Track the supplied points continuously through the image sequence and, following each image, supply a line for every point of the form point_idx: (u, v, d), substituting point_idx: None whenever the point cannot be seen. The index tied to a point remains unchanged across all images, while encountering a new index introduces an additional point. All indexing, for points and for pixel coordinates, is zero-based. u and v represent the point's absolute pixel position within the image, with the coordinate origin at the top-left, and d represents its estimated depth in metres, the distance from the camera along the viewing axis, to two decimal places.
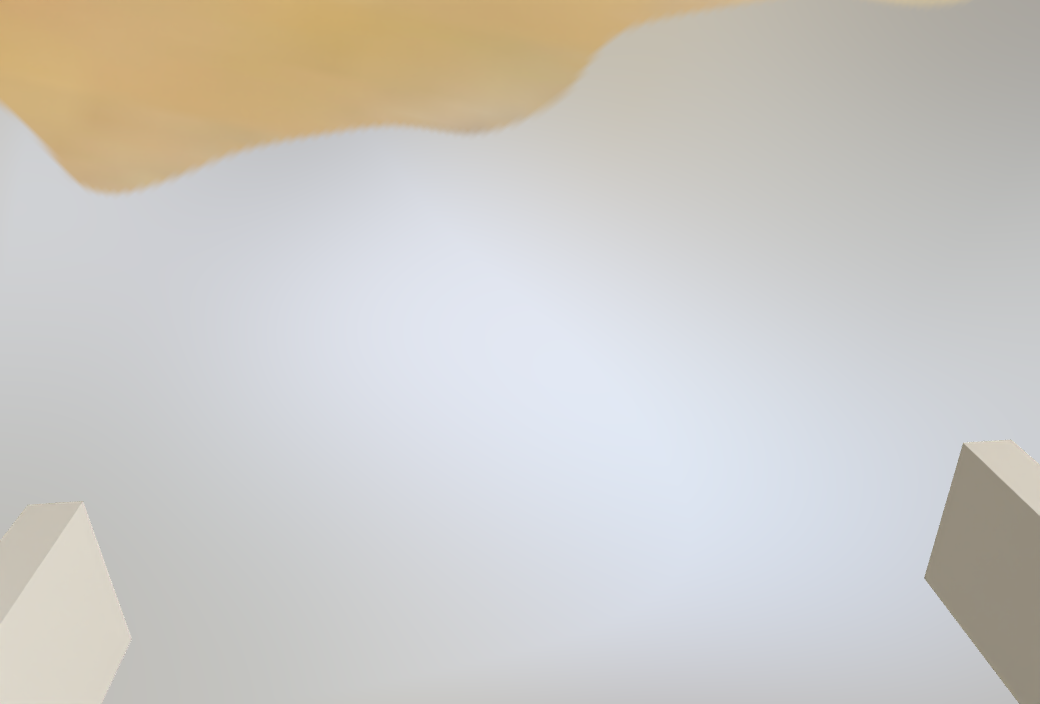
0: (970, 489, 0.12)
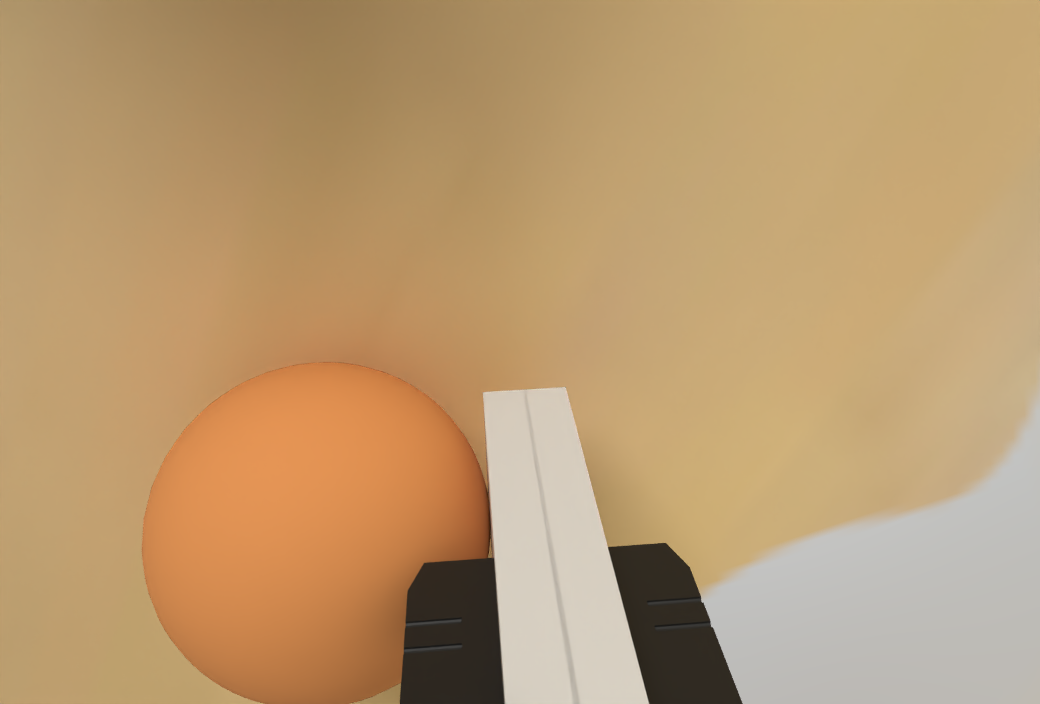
0: None
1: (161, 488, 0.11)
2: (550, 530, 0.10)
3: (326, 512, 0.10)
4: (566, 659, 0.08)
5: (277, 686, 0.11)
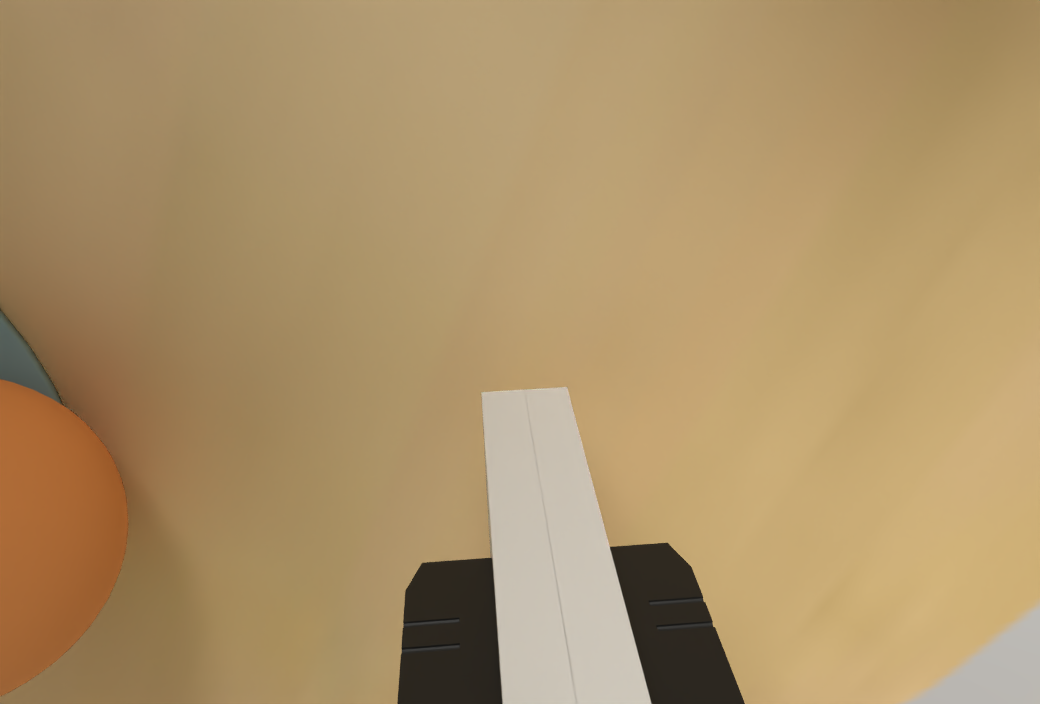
0: None
1: None
2: (548, 530, 0.10)
3: None
4: (564, 659, 0.08)
5: None
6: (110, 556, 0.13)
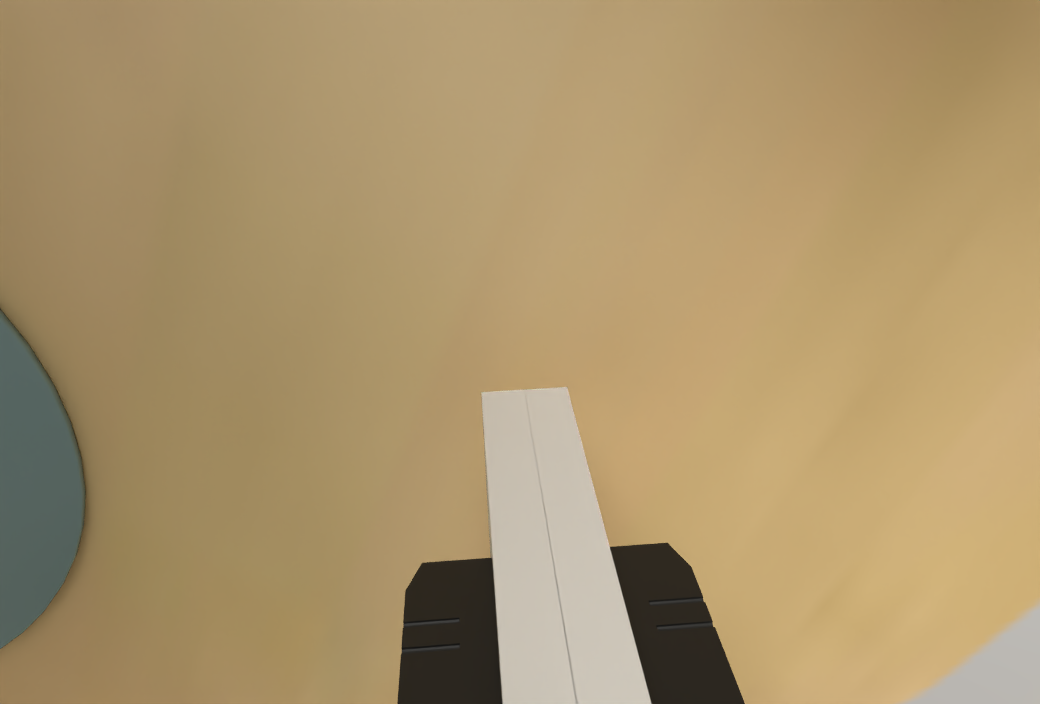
0: None
1: None
2: (549, 530, 0.10)
3: None
4: (564, 659, 0.08)
5: None
6: None
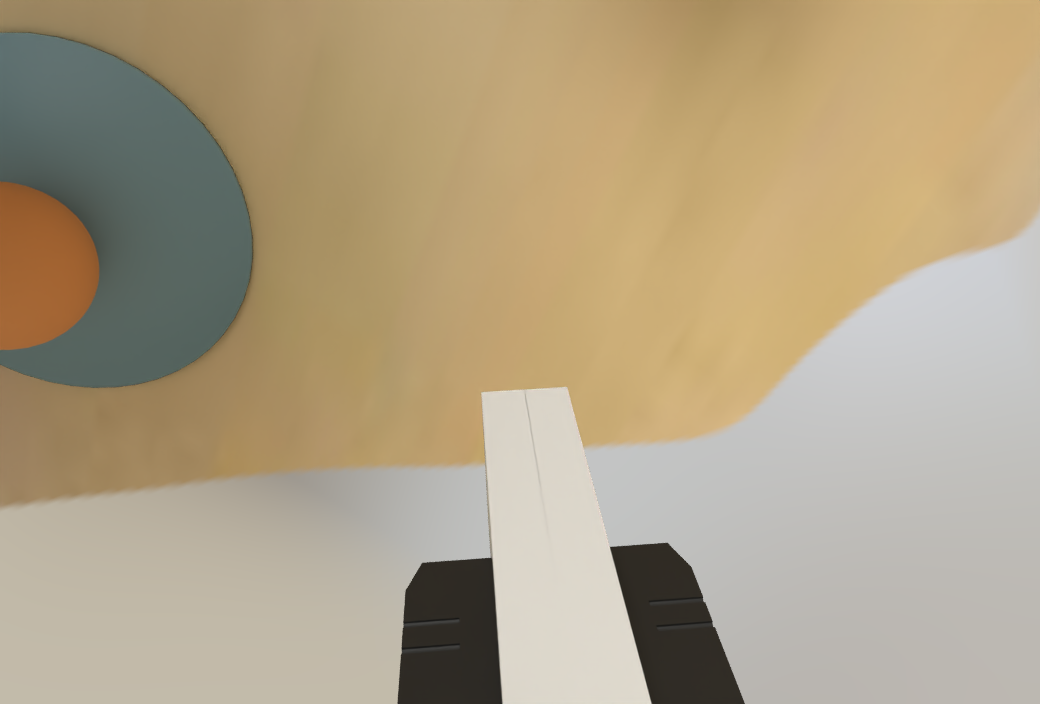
0: None
1: None
2: (549, 530, 0.10)
3: None
4: (564, 659, 0.08)
5: None
6: None
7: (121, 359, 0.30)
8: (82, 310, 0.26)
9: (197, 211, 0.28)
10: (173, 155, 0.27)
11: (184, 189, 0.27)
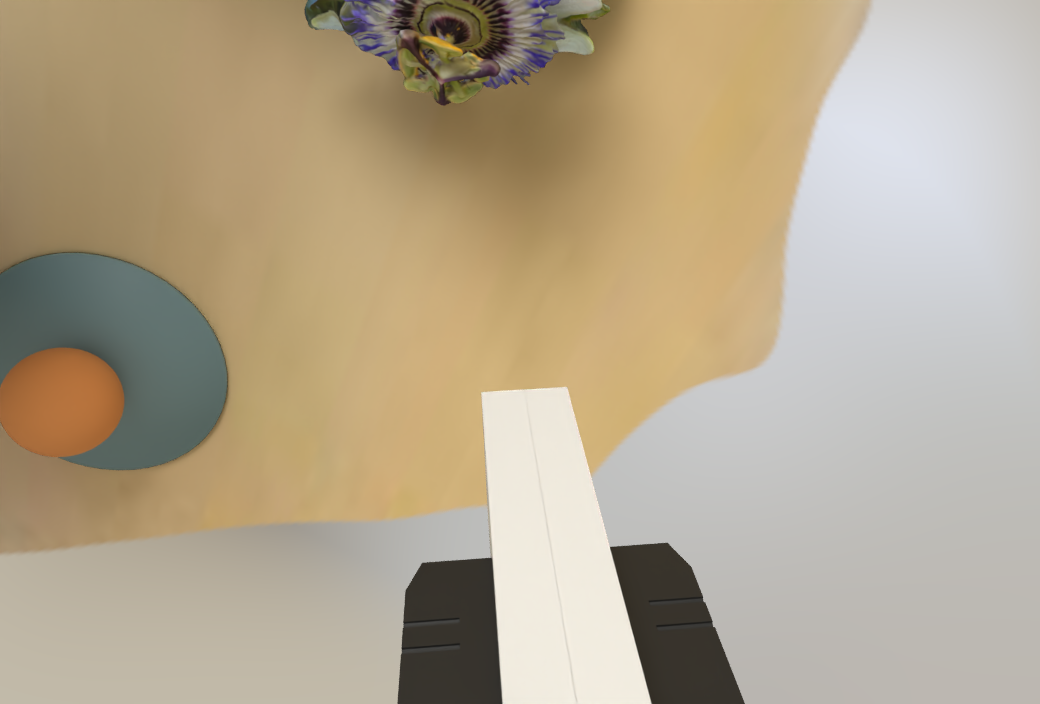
0: None
1: None
2: (549, 530, 0.10)
3: (6, 375, 0.38)
4: (564, 659, 0.08)
5: None
6: (6, 431, 0.37)
7: (137, 451, 0.44)
8: (113, 429, 0.39)
9: (189, 357, 0.41)
10: (173, 324, 0.40)
11: (181, 344, 0.41)
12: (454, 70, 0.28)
